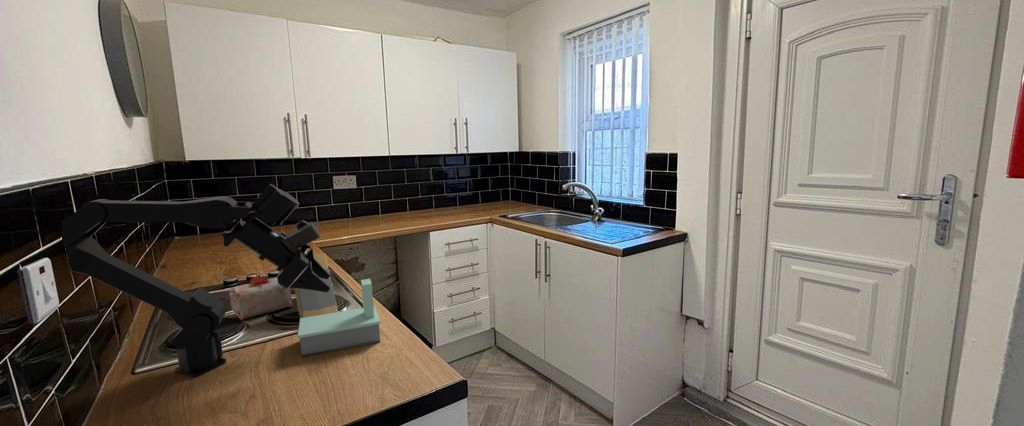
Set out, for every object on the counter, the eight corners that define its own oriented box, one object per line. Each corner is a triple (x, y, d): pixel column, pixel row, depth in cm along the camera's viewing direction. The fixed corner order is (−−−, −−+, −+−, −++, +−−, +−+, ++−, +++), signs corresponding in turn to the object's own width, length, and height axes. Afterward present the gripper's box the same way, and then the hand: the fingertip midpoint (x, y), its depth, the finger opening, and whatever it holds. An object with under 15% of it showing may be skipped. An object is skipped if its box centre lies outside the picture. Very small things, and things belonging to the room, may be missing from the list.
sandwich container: (304, 332, 102) (297, 272, 99) (296, 311, 115) (290, 257, 112) (342, 323, 107) (336, 266, 104) (330, 304, 119) (325, 252, 117)
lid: (298, 342, 89) (293, 299, 87) (301, 324, 98) (296, 285, 96) (380, 327, 95) (377, 287, 94) (376, 312, 104) (373, 274, 102)
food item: (236, 323, 107) (231, 286, 106) (230, 314, 113) (226, 279, 112) (295, 308, 116) (291, 274, 115) (286, 300, 122) (282, 267, 121)
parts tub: (301, 357, 90) (299, 337, 89) (303, 339, 98) (301, 320, 97) (380, 342, 96) (378, 323, 95) (376, 326, 104) (374, 309, 104)
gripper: (289, 219, 81) (356, 266, 87) (295, 205, 98) (351, 245, 104) (247, 265, 79) (318, 309, 85) (261, 243, 96) (319, 281, 102)
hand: (328, 283), depth 94 cm, fingers open, 9 cm apart
